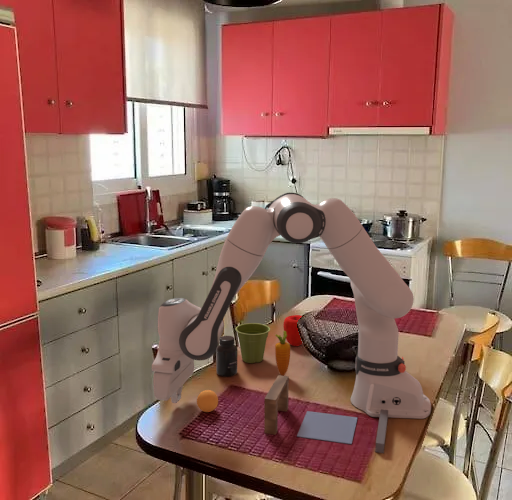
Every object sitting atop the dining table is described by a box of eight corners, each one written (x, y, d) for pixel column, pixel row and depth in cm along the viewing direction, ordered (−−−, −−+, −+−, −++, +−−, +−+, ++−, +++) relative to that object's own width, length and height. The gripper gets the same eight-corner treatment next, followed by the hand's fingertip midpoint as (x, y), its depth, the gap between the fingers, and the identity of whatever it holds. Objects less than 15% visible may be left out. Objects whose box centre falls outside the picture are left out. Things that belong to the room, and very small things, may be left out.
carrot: (279, 381, 182) (279, 335, 179) (271, 375, 187) (272, 330, 184) (293, 378, 185) (293, 333, 181) (285, 372, 189) (285, 328, 186)
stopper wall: (387, 418, 159) (388, 410, 158) (383, 453, 142) (384, 443, 141) (380, 417, 159) (380, 409, 159) (375, 452, 142) (375, 442, 142)
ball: (221, 407, 165) (221, 387, 164) (214, 417, 160) (213, 397, 158) (201, 404, 167) (201, 385, 166) (193, 414, 161) (193, 394, 160)
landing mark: (357, 418, 159) (357, 417, 159) (351, 444, 146) (351, 443, 146) (307, 411, 163) (307, 410, 163) (296, 436, 149) (296, 435, 149)
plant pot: (270, 366, 193) (270, 334, 191) (234, 366, 194) (234, 334, 191) (270, 353, 205) (270, 322, 203) (236, 352, 205) (236, 322, 203)
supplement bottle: (234, 378, 185) (234, 342, 182) (214, 376, 186) (213, 341, 183) (239, 369, 191) (239, 335, 189) (219, 367, 192) (219, 333, 190)
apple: (291, 338, 219) (291, 310, 217) (311, 343, 214) (312, 315, 212) (278, 345, 212) (278, 317, 210) (299, 350, 207) (299, 321, 205)
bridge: (288, 408, 165) (288, 376, 163) (275, 434, 150) (275, 400, 148) (278, 407, 165) (278, 375, 163) (264, 433, 151) (264, 398, 149)
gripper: (179, 341, 173) (180, 384, 176) (148, 367, 154) (150, 415, 157) (198, 343, 171) (199, 386, 174) (170, 370, 152) (172, 418, 155)
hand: (176, 400), depth 165 cm, fingers closed
